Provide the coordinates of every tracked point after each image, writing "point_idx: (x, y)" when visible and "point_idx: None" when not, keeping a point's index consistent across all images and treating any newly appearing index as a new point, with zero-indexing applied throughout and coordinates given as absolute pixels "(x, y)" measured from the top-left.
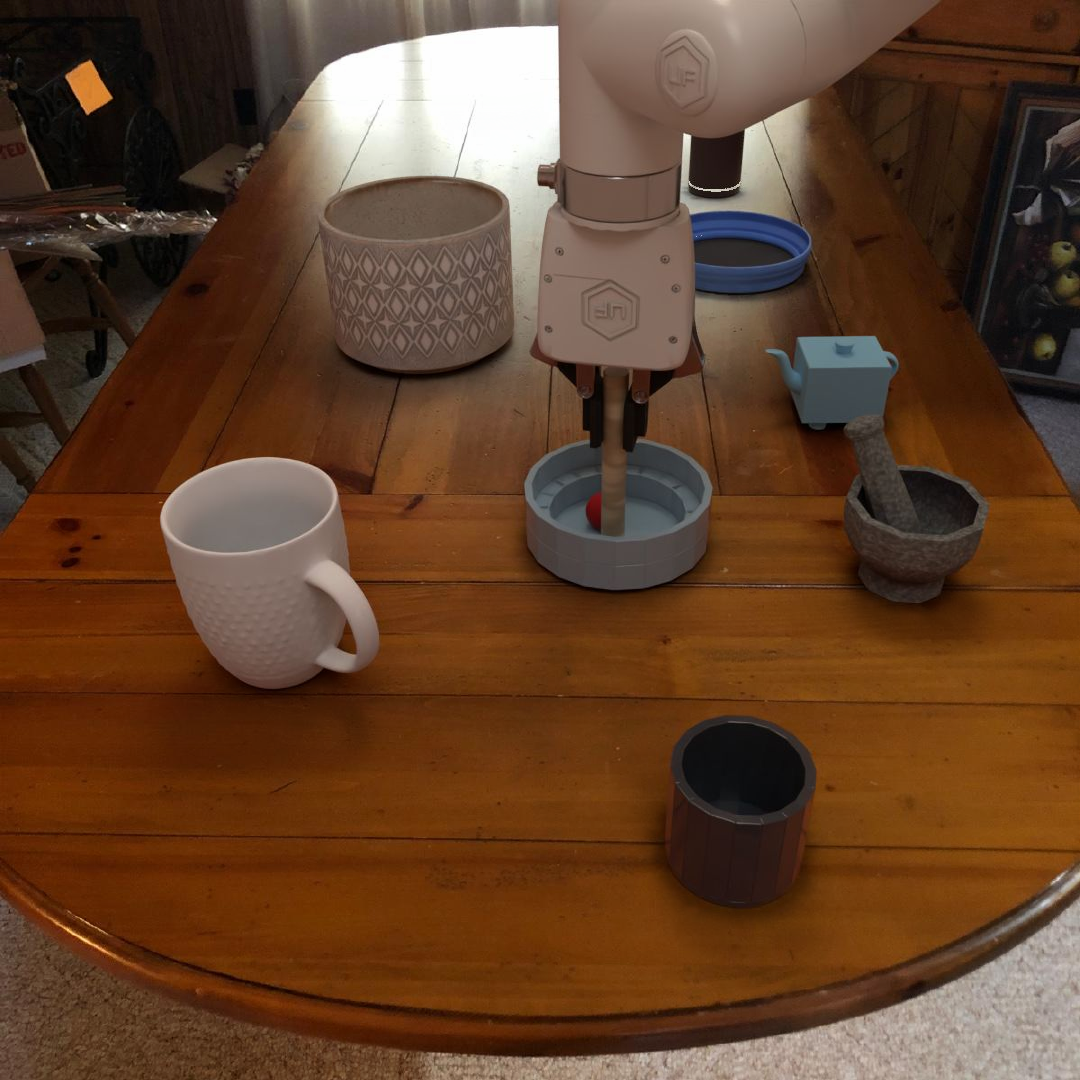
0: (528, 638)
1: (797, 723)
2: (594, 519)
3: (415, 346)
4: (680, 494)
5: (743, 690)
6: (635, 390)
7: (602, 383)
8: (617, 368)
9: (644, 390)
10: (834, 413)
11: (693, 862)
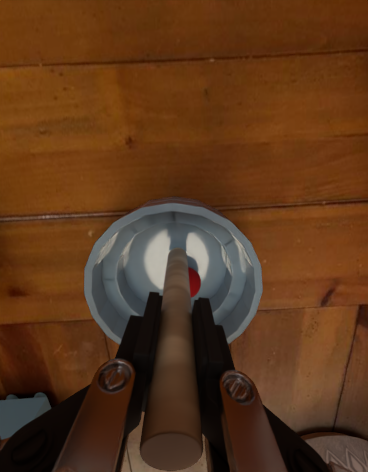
0: (239, 136)
1: (10, 34)
2: (193, 270)
3: (343, 461)
4: (123, 301)
5: (60, 78)
6: (122, 390)
7: (200, 414)
8: (169, 462)
9: (99, 391)
10: (18, 407)
11: None
